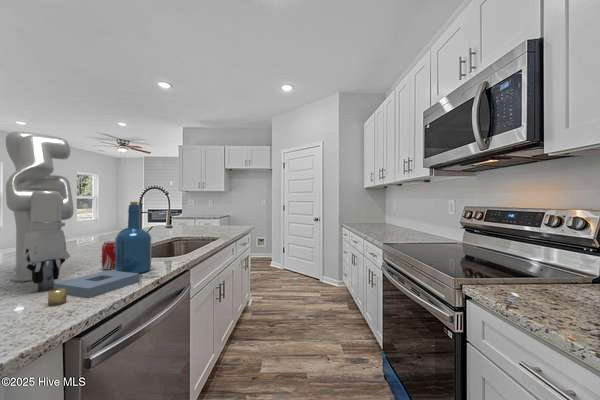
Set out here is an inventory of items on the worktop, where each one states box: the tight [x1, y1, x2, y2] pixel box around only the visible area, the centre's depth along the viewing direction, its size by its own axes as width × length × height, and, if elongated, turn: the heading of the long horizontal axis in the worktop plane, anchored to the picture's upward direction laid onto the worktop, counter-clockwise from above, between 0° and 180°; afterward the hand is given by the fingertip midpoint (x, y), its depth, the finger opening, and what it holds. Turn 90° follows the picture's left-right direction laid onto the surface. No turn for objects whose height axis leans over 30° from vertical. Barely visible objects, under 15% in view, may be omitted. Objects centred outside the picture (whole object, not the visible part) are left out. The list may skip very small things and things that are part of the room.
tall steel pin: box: [37, 260, 55, 293], centre depth 90 cm, size 4×4×10 cm
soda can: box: [101, 240, 115, 271], centre depth 119 cm, size 7×7×12 cm
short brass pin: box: [47, 288, 67, 307], centre depth 78 cm, size 4×4×4 cm
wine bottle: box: [114, 201, 152, 275], centre depth 114 cm, size 14×13×30 cm
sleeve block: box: [54, 270, 141, 299], centre depth 94 cm, size 16×18×3 cm
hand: (45, 280), depth 90 cm, fingers closed on tall steel pin, 4 cm apart
